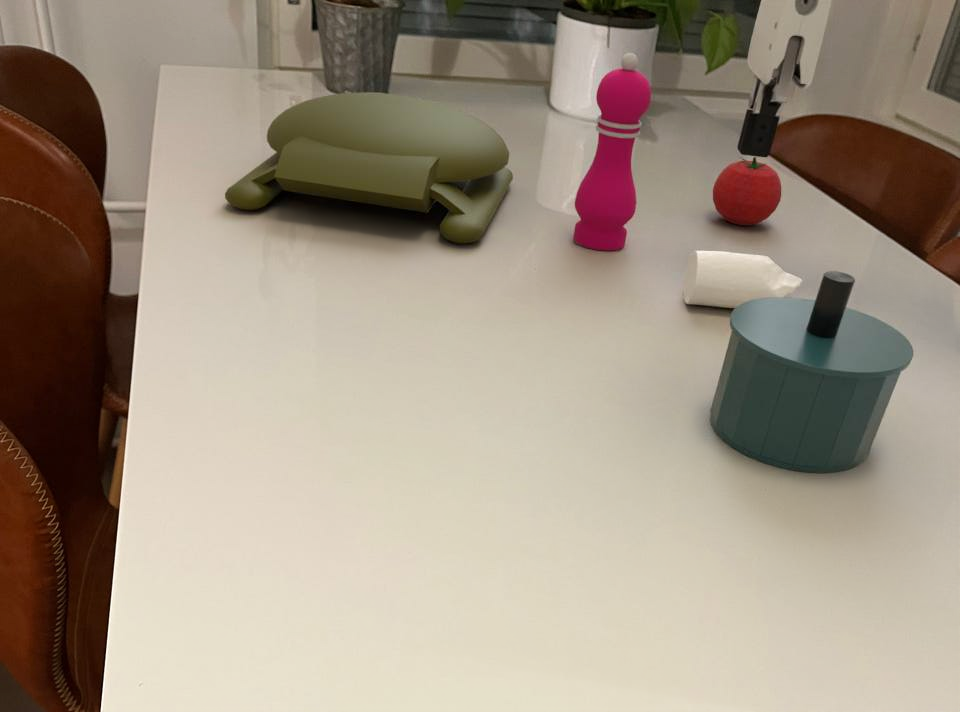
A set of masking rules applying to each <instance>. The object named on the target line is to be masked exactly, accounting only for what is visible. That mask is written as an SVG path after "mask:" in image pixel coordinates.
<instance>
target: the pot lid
mask: <svg viewBox="0 0 960 712" xmlns="http://www.w3.org/2000/svg"><path fill="white" fill-rule="evenodd" d="M855 282H856V279H855V277H854V276H852V275H851V274H848V273H845V272H842V271H837V270H828V271H825V272H824V273H823V275H822V279H821V281H820V285H819V288H818V291H817V294H816V298H815V299H810V298H803V297H802V298H801V297H792V296H784V297H769V298H760V299H754V300H750V301H747V302H745V303H742V304H740V305H739V306H737V307H736V308H733V310H732V312H731V314H730V318H729V326H730V330H731V332H732V331H733V333H734V335H735V336H736V337H737V338H738V339H739V340H740V341H741V342H743V343H744V344H745V345H746V346H748V347H749V348H751V349H752V350H754V351H756V352H758V353H759V354H761V355H763V356H765V357H768V358H770V359H772V360H774V361H777V362H779V363H782V364H785V365H788V366H791V367H794V368H797V369H801V370H805V371H809V372H813V373H817V374H823V375H828V376H836V377H844V378H879V377H885V376H890V375H894V374H896V373H899V372H903V371H904V370H906V369H907V368H908V367H909V366H910V365H911V362H912V361H913V358H914V347H913V345H912V344H911V341H910V340H909V339H907V337H906V335H904V334H903V333H902V332H900V331H899V330H897V329H896V328H895V327H894V326H892V325H890V324H888V323H887V322H885V321H882V320H881V319H879V318H877V317H875V316H872V315H870V314H868V313H865V312H863V311H859V310H857V309H853V308H851V307H847V305H848V302H849V300H850V297H851V293H852V290H853V288H854V285H855Z"/></svg>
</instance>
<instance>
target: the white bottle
mask: <svg viewBox="0 0 960 712" xmlns="http://www.w3.org/2000/svg"><path fill="white" fill-rule="evenodd" d="M803 282H804V281H803V280H802V279H801V278H800V277H799V276H796V275H794V274H792V273H788V272H786V271H784V270H783V269H782V268H781V267H780V266H779V265H778V264H777V263H776V262H774V261H773V260H772V259H771V258H770V257H769V256H766V255H762V254H752V253H751V254H750V253H749V254H748V253H740V252H730V251H723V250H721V251H720V250H714V251H713V250H694V251H692V253H691V255H690V256H689V259H688V262H687V266H686V271H685V277H684V287H683V288H684V290H683V300H684V303H685V304H686V305H695V306H696V305H697V306H705V307H716V308H717V307H719V308H726V309H727V308H728V309H735V308H736V307H737V306H739V305H740V304H742V303H745V302H747V301H750V300H754V299H760V298H769V297H786V295H789V294H791V293H792V292H793V291H795V290H796V288H798V287H800V286H801V284H802V283H803Z"/></svg>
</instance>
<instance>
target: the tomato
mask: <svg viewBox="0 0 960 712" xmlns="http://www.w3.org/2000/svg"><path fill="white" fill-rule="evenodd" d="M739 158H740V159H741V160H739V161H736V162H732V163H729V164H728V165H727V166H726V167H725V168H724V169H722V171H720V173H719V175H718V176H717V178H716V180H715V182H714V184H713V187H712V201H713V204H714V207H715V210H716V211H717V213H718V214H719V215H720V216H721V217H722V218H723V219H724V220H726V221H727V222H729V223H732V224H734V223H735V224H734V225H737V224H739V225H738V226H754V225H757V224H760V223H762V222H763V221H765V220H767V219H768V218H769V217H771V215H772V214H773V213H775V211H776V210H777V208H778V206H779V204H780V203H781V199H782V182H781V179H780V177H779V174H778V172H777V171H776V170H775V169H773V168H772V167H771V166H769V165H768V164H767V163H763V162H759V161H757V156H753V159H752V160H747V159H746V158H745V159H744V158H743V157H741V156H739Z"/></svg>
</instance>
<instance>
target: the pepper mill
mask: <svg viewBox="0 0 960 712" xmlns="http://www.w3.org/2000/svg"><path fill="white" fill-rule="evenodd" d="M638 64H639V60H638V57H637V55H636V54H635V53H633V52H627V53H625V54H624V55H623V57H622V58H621V63H620V65H621V68H616V69H613V70H610V71H609V72H607V73H605V75H604V76H603V78H601V80H600V82H599V84H598V87H597V90H596V95H595V97H596V98H595V99H596V104H597V107H598V109H599V111H600V113H601V114H600V115H598V116H597V118H596V120H597V123H596V127H595V131H597V132H598V139H597V146H596V151H595V154H594V157H593V160H592V163H591V164H590V166H589V168H588V170H587V172H586V173H585V175H584V177H583V179H582V181H581V182H580V183H579V186H578V189H577V192H576V194H575V198H574V209H575V211H576V214H577V216H578V217H579V218H580V219H579V220H578V221H576V222H575V225H574V232H573V240H574V242H575V243H577V244H578V245H579V246H581V247H584V248H587V249H590V250H594V251H603V252H604V251H605V252H606V251H607V252H612V251H618V250H619V251H620V250H621V249H622V248H624V247H625V245H626V240H627V235H628V230H627V228H626V227H625V226H626V224H628V222H630V221H631V219H633V217H634V215H635V213H636V208H637V191H636V186H635V181H634V177H633V171H632V157H633V150H634V144H635V142H636V138H638V137H639V136H640V135H641V131H640V130H641V127H642V121H641V120H640V119H641V117H642V116H643V115H644V114H645V113H646V112H647V111H648V109H649V107H650V104H651V100H652V87H651V85H650V82H649V80H648V78H647V76H645V75H644V74H643V73H642V72H640V71H638V70H636V69H637V67H638Z"/></svg>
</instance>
